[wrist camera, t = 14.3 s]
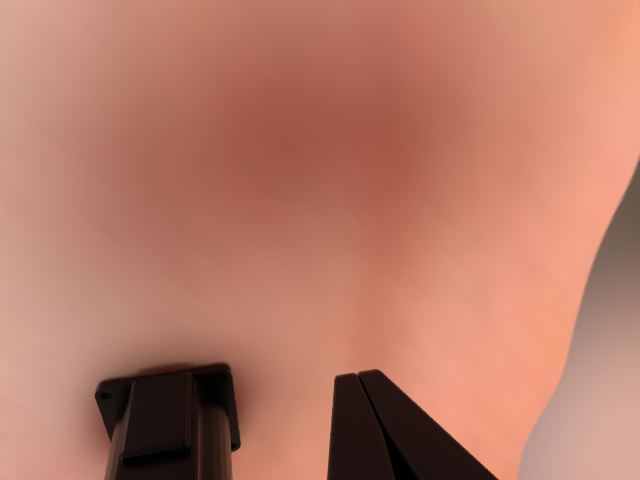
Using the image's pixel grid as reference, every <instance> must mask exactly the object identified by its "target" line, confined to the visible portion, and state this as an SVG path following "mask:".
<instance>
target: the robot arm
mask: <svg viewBox="0 0 640 480" xmlns="http://www.w3.org/2000/svg"><path fill="white" fill-rule="evenodd" d="M221 374H224V375H223V376H219V375H221ZM105 392H109V393H105ZM95 399H96V401H97V404H98V407H99V410H100V413H101V415H102V418H103V421H104V424H105V427H106V429H107V432H108V435H109V438H110V441H111V447H110V452H109V457H108V463H107V468H106V473H105V478H104V480H233V479H232V461H231V452H233V451H236V450H238V449H239V448H240V446H241V442H240V433H239V425H238V417H237V410H236V402H235V394H234V386H233V378H232V371H231V368H230V367H228V366H226V365H218V366H211V367H204V368H198V369H191V370H184V371H177V372H171V373H164V374H157V375H150V376H144V377H137V378H130V379H123V380H117V381H110V382H104V383H101V384H100V385H98V387H97V388H96V392H95ZM327 480H499V479H498V478H496V477H495V476H494V475H493V474H492V473H491V472H490V471H489V470H488V469H487V468H486V467H484V466H483V465H482V464H481V463H480V462H479V461H478V460H477V459H476V458H475V457H474V456H473V455H471V454H470V453H469V452H468V451H467V450H466V449H465V448H464V447H463V446H462V445H461V444H460V443H458V442H457V441H456V440H455V439H454V438H453V437H452V436H451V435H450V434H449V433H448V432H446V431H445V430H444V429H443V428H442V427H441V426H440V425H439V424H438V423H437V422H436V421H435V420H433V419H432V418H431V417H430V416H429V415H428V414H427V413H426V412H425V411H424V410H423V409H422V408H420V407H419V406H418V405H417V404H416V403H415V402H414V401H413V400H412V399H411V398H410V397H409V396H407V395H406V394H405V393H404V392H403V391H402V390H401V389H400V388H399V387H398V386H397V385H395V384H394V383H393V382H392V381H391V380H390V379H389V378H388V377H387V376H386V375H385V374H384V373H382V372H381V371H380V370H377V369H373V370H367V371H361V372H359V373H357V374H355V373H348V374H342V375H337V376H336V377H335V380H334V393H333V407H332V420H331V434H330V447H329V461H328V475H327Z"/></svg>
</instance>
